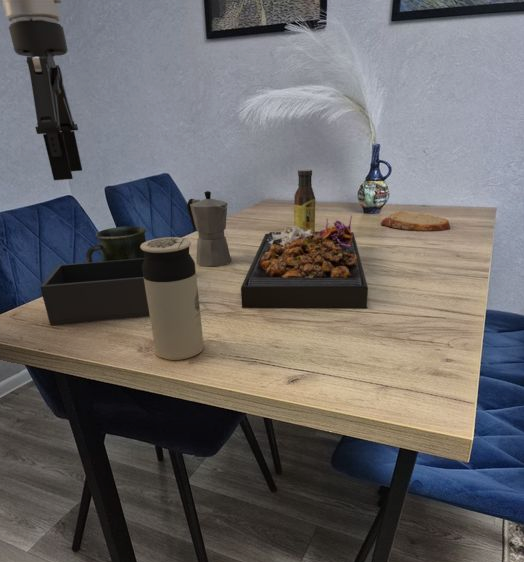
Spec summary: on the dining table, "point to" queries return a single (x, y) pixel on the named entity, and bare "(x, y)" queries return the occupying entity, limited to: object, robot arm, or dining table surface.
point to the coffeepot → (210, 230)
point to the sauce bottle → (304, 202)
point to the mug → (119, 243)
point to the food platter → (306, 270)
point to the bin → (95, 291)
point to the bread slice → (416, 222)
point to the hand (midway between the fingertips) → (69, 175)
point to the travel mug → (172, 297)
